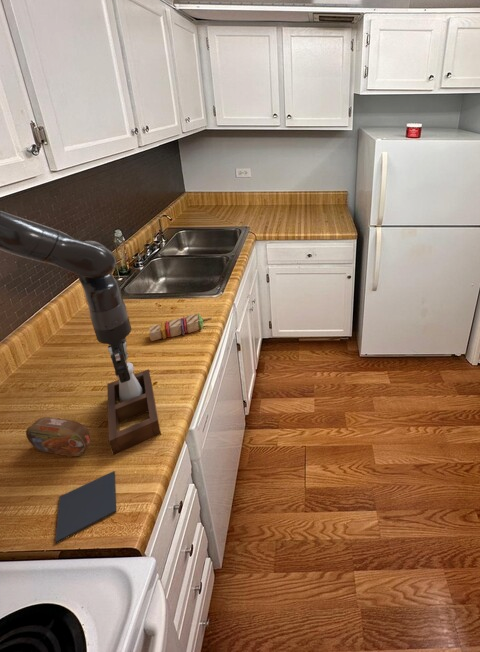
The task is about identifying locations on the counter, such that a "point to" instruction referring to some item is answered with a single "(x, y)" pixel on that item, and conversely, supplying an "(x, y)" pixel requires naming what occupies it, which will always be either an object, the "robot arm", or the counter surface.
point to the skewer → (177, 327)
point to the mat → (86, 506)
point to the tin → (59, 436)
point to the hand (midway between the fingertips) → (124, 369)
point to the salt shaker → (129, 386)
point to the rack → (131, 415)
